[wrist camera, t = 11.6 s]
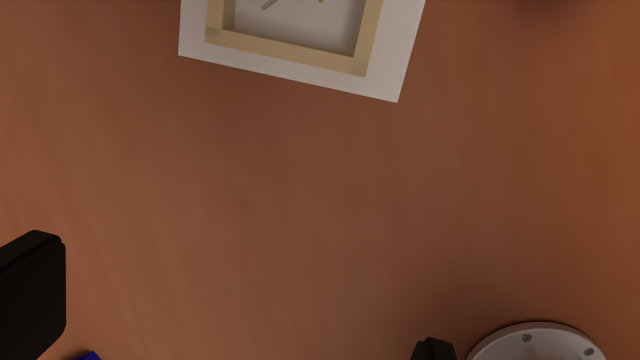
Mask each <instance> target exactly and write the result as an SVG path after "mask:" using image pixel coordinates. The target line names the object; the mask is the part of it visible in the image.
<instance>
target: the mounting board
mask: <svg viewBox="0 0 640 360" xmlns="http://www.w3.org/2000/svg"><path fill="white" fill-rule="evenodd" d="M267 1H269V0H181V13H180V31H179V49H178V55H180V56H185V57H189V58H194V59H198V60H203V61H208V62H212V63H217V64H221V65H226V66H230V67H235V68H240V69H244V70H249V71H253V72H258V73H262V74H267V75H272V76H276V77H281V78H285V79H290V80H295V81H299V82H304V83H308V84H313V85H317V86H322V87H327V88H331V89H336V90H340V91H345V92H350V93H354V94H359V95H363V96H368V97H372V98H377V99H382V100H386V101H391V102H395V103H397V102H398V99H399V95H400V91H401V88H402V84H403V80H404V77H405V73H406V70H407V66H408V62H409V59H410V55H411V52H412V48H413V44H414V41H415V37H416V33H417V30H418V26H419V23H420V19H421V15H422V12H423V8H424V5H425V1H426V0H324V1H323V2H321V3H319V1H318V0H278V1H277V2H276V3H274V4H273V5H272V6H270V7H269V8H267V9H265V10H263V9H262V8H261V7H262V6H263V5H264V4H265V3H266V2H267Z"/></svg>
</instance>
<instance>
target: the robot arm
mask: <svg viewBox="0 0 640 360" xmlns="http://www.w3.org/2000/svg"><path fill="white" fill-rule="evenodd" d="M65 326H66V248H65V245H64V244H63V243H62V242H61V239H60V237H59V236H57V235H54V234H50V233H46V232H43V231H39V230H32V231H29V232H27V233H26V234H24V235H22V236H20V237H18V238H17V239H15V240H13V241H11V242H9V243H8V244H6V245H4V246H2V247H0V360H37V359H38V358H39V357H40V356H41V355H42V354H43V353H44V352H45V351H46V350H47V349H48V348H49V347H50V346H51V345H52V344H53V343H54V342H55V341H56V340H57V339H58V338H59V337H60V336H61V335H62V333H63V331H64V329H65ZM410 360H457V358H456V355H455V351H454V348H453V345H452V344H451V343H450V342H446V341H443V340H439V339H435V338H432V337H427V338H426V340H425V342H423V341H418V343H417V344H416V347H415V349H414V352H413V354H412V356H411V359H410ZM466 360H606V358H605V356H604V355H603V353H602V352H601V350H600V349H599V348H598V346H597V345H596V344H595V343H594V342H593V341H592V340H591V339H590V338H589V337H588V336H586V335H585V334H583V333H582V332H580V331H578V330H576V329H574V328H571V327H569V326H566V325H561V324H557V323H550V322H529V323H522V324H517V325H513V326H509V327H507V328H504V329H501V330H499V331H496V332H495V333H493V334H491V335H489V336H488V337H486V338H485V339H483V340H482V341H481V342H480V343H479V344H477V345H476V346H475V348H474V349H473V350H472V351H471V352H470V353H469V355H468V357H467V359H466Z"/></svg>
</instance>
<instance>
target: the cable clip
mask: <svg viewBox="0 0 640 360" xmlns="http://www.w3.org/2000/svg"><path fill="white" fill-rule="evenodd" d="M73 360H101V359H100V358H99V356H98V355H97V354H96V353H95V352H94V351H93V352H91V353H88V354H86V355H83V356H81V357H78V358H76V359H73Z"/></svg>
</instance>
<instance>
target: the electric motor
mask: <svg viewBox="0 0 640 360" xmlns="http://www.w3.org/2000/svg"><path fill="white" fill-rule="evenodd" d="M277 1H278V0H269V1H267V2H266V3H265V4H264V5H263V6H262V7H261V8H262V9H263V10H265V9H267V8H269V7H270V6H272V5H273V4H274V3H276V2H277ZM318 1H319V3H321V2H323V1H324V0H318Z"/></svg>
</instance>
